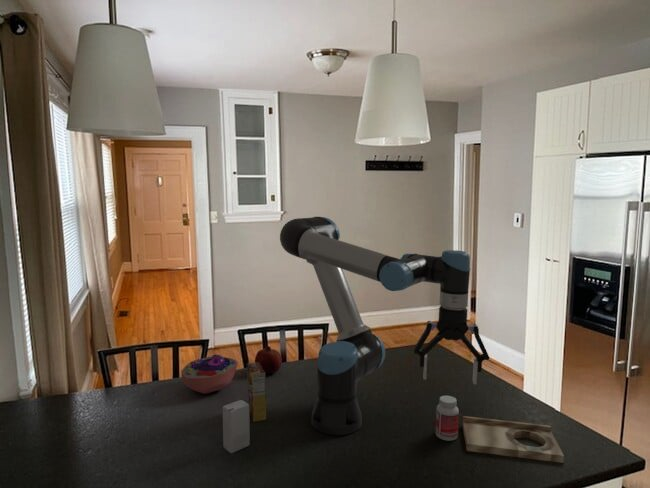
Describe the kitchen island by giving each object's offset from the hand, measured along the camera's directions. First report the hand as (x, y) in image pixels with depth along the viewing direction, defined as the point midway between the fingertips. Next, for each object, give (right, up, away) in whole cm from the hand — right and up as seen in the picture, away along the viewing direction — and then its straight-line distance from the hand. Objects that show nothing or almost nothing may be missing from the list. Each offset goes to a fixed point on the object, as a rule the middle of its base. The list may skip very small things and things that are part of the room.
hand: (449, 380), depth 127 cm
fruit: (-57, -11, +44) cm, 73 cm away
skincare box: (-59, -17, -5) cm, 62 cm away
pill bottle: (0, -17, +2) cm, 17 cm away
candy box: (-56, -15, +13) cm, 59 cm away
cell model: (-75, -12, +30) cm, 82 cm away
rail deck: (+16, -17, -2) cm, 24 cm away
